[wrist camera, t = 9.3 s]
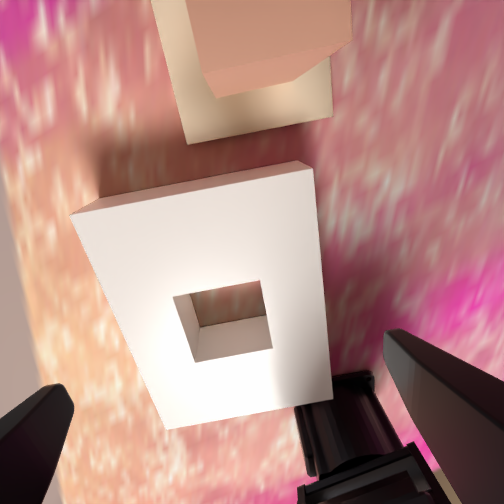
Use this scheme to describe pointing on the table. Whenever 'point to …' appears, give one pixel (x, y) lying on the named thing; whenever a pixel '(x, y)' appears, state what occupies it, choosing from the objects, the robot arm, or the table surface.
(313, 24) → the plug
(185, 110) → the pad
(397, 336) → the robot arm
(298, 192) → the socket block
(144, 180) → the table surface
